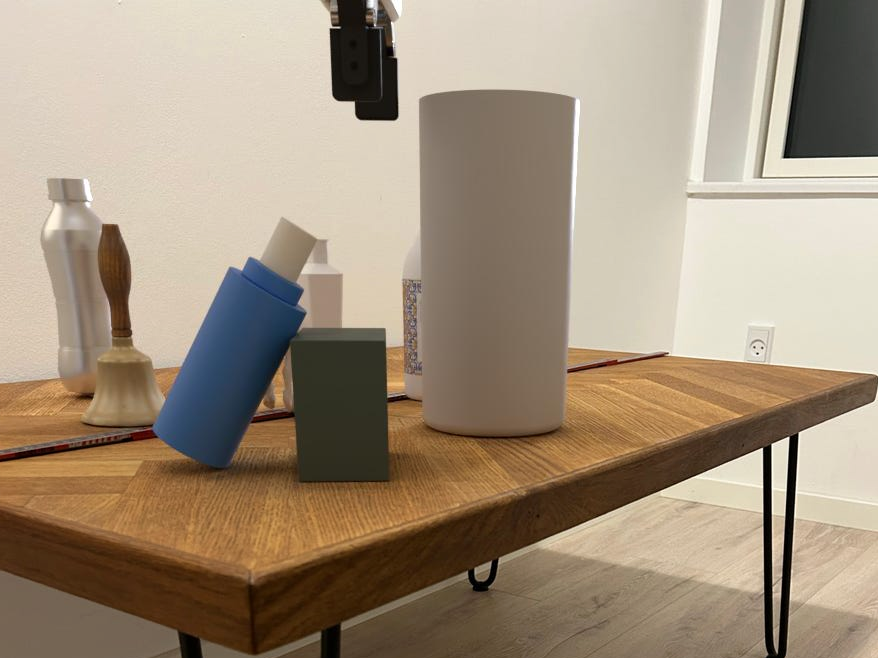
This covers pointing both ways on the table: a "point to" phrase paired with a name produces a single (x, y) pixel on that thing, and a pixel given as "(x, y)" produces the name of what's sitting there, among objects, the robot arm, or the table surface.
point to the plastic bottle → (76, 283)
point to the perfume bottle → (321, 290)
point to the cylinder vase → (496, 259)
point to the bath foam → (412, 321)
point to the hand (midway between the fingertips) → (367, 111)
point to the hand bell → (121, 349)
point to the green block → (340, 404)
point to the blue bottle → (237, 351)
